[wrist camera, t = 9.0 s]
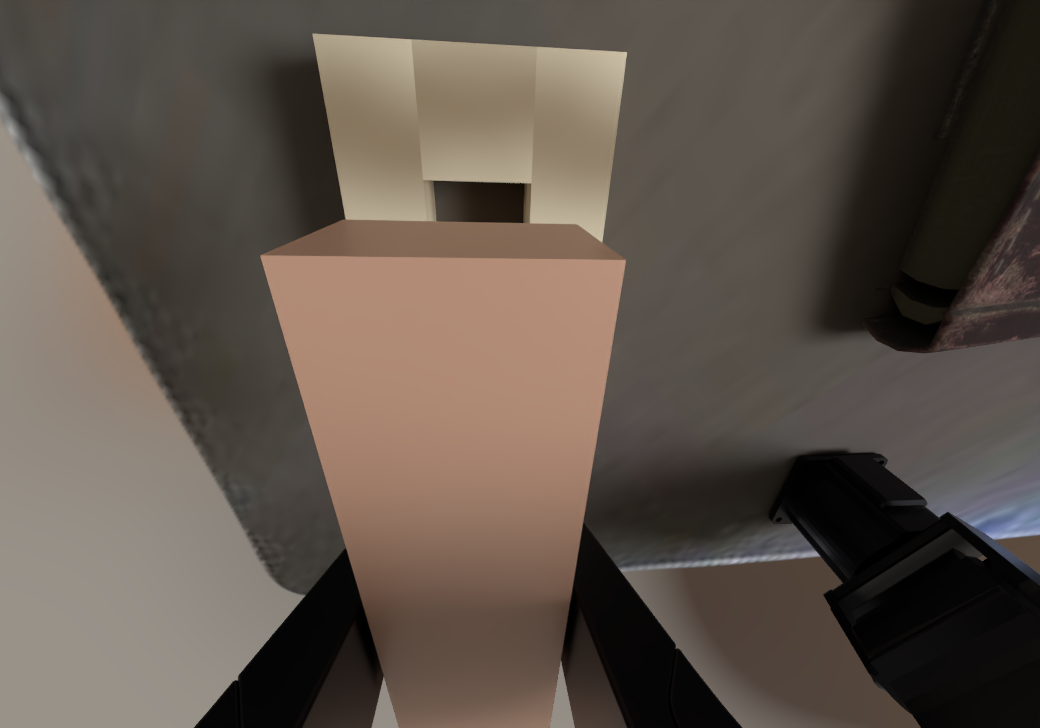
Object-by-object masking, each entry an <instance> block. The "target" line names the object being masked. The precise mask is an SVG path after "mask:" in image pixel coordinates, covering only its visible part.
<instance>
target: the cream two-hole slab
mask: <svg viewBox="0 0 1040 728" xmlns="http://www.w3.org/2000/svg"><path fill="white" fill-rule="evenodd" d="M313 39H314V45H315V51H316V56H317V62H318V67H319V73H320V79H321V84H322V90H323V95H324V101H325V107H326V112H327V118H328V123H329V129H330V134H331V140H332V146H333V151H334V157H335V162H336V168H337V174H338V179H339V185H340V190H341V196H342V201H343V207H344V213H345V218H346V220H392V221H436V208H435V194H434V180H435V181H468V182H502V183H524V212H523V223H538V224H577V225H579V226H580V227H582V228H583V229H584V230H586V231H587V232H588V233H590V234H591V235H592V236H594V237H595V238H597V239H598V240H599V241H601V242H602V240H603V232H604V225H605V217H606V210H607V202H608V194H609V187H610V179H611V171H612V164H613V156H614V148H615V141H616V133H617V125H618V118H619V110H620V102H621V95H622V87H623V79H624V72H625V64H626V56H627V52H614V51H597V50H580V49H563V48H546V47H529V46H512V45H495V44H479V43H462V42H445V41H428V40H411V39H394V38H377V37H360V36H344V35H327V34H313Z"/></svg>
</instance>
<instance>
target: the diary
mask: <svg viewBox="0 0 1040 728" xmlns="http://www.w3.org/2000/svg"><path fill="white" fill-rule="evenodd" d="M946 138H950V140H949V142H948V145H947V147H946V150H945V152H944V155H943V158H942V160H941V163H940V165H939V168H938V170H937V173H936V176H935V178H934V181H933V183H932V186H931V188H930V191H929V193H928V196H927V199H926V201H925V204H924V206H923V209H922V211H921V214H920V217H919V219H918V222H917V224H916V227H915V229H914V232H913V234H912V237H911V240H910V242H909V245H908V247H907V250H906V252H905V255H904V258H903V260H902V263H901V265H900V268H899V270H901V271H903V272H904V273H906V274H907V275H909V276H910V277H912V278H914V279H915V280H917V281H914V282H906V283H899V284H893V286H889V287H881V288H876V290H879V289H888V288H891V291H890V293H891V295H892V297H893V299H894V301H895V302H896V304H897V306H898V308H899V310H900V312H901V314H902V315H894V316H886V317H878V318H870V319H865V320H864V322H863V323H862V325H863V326H864V327H865V328H866V329H867V330H868V331H869V333H870V334H871V335H872V336H873V337H874V338H875V339H876V340H877V341H879V342H881V343H883V344H885V345H887V346H889V347H891V348H893V349H895V350H897V351H905V352H917V353H932V352H940V351H947V350H954V349H961V348H968V347H974V346H981V345H988V344H995V343H1001V342H1008V341H1015V340H1022V339H1028V338H1035V337H1040V0H982V2H981V5H980V8H979V10H978V13H977V16H976V19H975V21H974V24H973V27H972V30H971V32H970V35H969V38H968V41H967V43H966V46H965V49H964V52H963V54H962V57H961V60H960V63H959V65H958V68H957V71H956V74H955V76H954V79H953V82H952V85H951V87H950V90H949V93H948V96H947V98H946V101H945V104H944V107H943V109H942V112H941V115H940V118H939V120H938V123H937V126H936V129H935V131H934V134H933V137H932V139H946Z"/></svg>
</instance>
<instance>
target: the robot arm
mask: <svg viewBox="0 0 1040 728" xmlns="http://www.w3.org/2000/svg"><path fill="white" fill-rule="evenodd" d="M887 462H888V460H887V459H886V458H885V457H884V456H882V455H881V454H861V455H828V456H804V457H801V458H800V459H798V460H797V462H796V464H795V466H794V468H793V470H792V472H791V474H790V476H789V478H788V480H787V481H786V483H785V485H784V487H783V489H782V491H781V493H780V495H779V497H778V499H777V501H776V503H775V505H774V507H773V509H772V511H771V513H770V515H769V519H770V520H771V521H772V523H774V524H792V523H793V524H794V525H795V526H796V527H797V529H798V530H799V531H800V532H801V533H802V535H803V536H804V537H805V538H806V539H807V541H808V542H809V543H810V544H811V545H812V547H813V548H814V549H815V550H816V551H817V553H818V554H819V555H820V556H821V557H822V559H823V560H824V561H825V562H826V563H827V565H828V566H829V567H830V568H831V569H832V570H833V572H834V573H835V574H836V575H837V576H838V578H839V579H840V580H841V581H842V582H843V584H841V585H840V586H838V587H837V588H835V589H834V590H829V591H827V592H826V593H824V594H823V595H824V597H825V599H826V600H827V602H828V604H829V605H830V607H831V608H830V609H831V611H832V612H833V614H834V616H835V617H836V619H837V620H838V622H839V624H840V626H841V628H842V629H843V631H844V632H845V634H846V636H847V637H848V639H849V641H850V643H851V644H852V646H853V647H854V649H855V651H856V653H857V654H858V656H859V658H860V659H861V661H862V663H863V664H864V666H865V668H866V669H867V671H868V673H869V674H870V675H871V677H872V679H873V681H874V682H875V684H876V685H877V686H878V687H879V688H880V689H881V690H883V691H885V692H888V693H889V694H890V695H891V697H893V699H895V700H896V701H897V702H898V703H899V704H900V705H901V706H902V707H903V708H904V709H905V710H907V711H908V712H909V713H911V714H912V715H913V716H914V718H915V719H916V721H917V722H918V724H919V725H920V727H921V728H1040V574H1039V573H1037V572H1036V571H1035V570H1033V569H1032V568H1031V567H1030V566H1028V565H1027V564H1026V563H1024V562H1023V561H1022V560H1020V559H1019V558H1018V557H1016V556H1014V555H1013V554H1012V553H1011V552H1009V551H1008V550H1006V549H1005V548H1004V547H1002V546H1001V545H1000V544H998V543H997V542H996V541H994V540H993V539H992V538H990V537H989V536H987V535H986V534H984V533H983V532H981V531H979V530H978V529H976V528H974V527H973V526H971V525H969V524H968V523H966V522H964V521H963V520H961V519H959V518H958V517H956V516H954V515H953V514H951V513H949V512H947V513H945V514H944V515H942V516H941V517H937V516H936V515H935V514H934V513H932V512H931V511H930V510H929V509H927V508H926V507H925V506H926V505H927V501H926V500H925V499H924V498H923V497H922V496H921V495H919V494H918V493H917V492H915V491H914V490H913V489H912V488H910V487H909V486H908V485H906V484H905V483H904V482H903V481H901V480H900V479H899V478H898V477H896V476H895V475H894V474H892V473H891V472H890V471H889V470H887V469H886V468H885V465H886V464H887ZM982 555H984V556H985V557H986V558H987V559H985V560H984V561H981V560H979V559H978V558H979V557H980V556H982ZM675 649H676V645H675V643H674V641H673V640H672V639H671V637H670V636H669V635H668V633H667V632H666V631H665V630H664V628H663V627H662V626H661V624H660V623H659V622H658V620H657V619H656V618H655V616H654V615H653V614H652V612H651V611H650V610H649V608H648V607H647V606H646V604H645V603H644V602H643V600H642V599H641V598H640V597H639V595H638V594H637V592H636V591H635V590H634V588H633V587H632V586H631V585H630V583H629V582H628V581H627V579H626V578H625V577H624V575H623V574H622V573H621V571H620V570H619V569H618V567H617V566H616V565H615V563H614V562H613V561H612V559H611V558H610V557H609V555H608V554H607V553H606V551H605V550H604V549H603V547H602V546H601V545H600V543H599V542H598V541H597V539H596V538H595V537H594V536H593V534H592V533H591V532H590V530H589V529H588V528H587V526H586V525H585V524H584V522H583V526H582V533H581V539H580V545H579V551H578V557H577V563H576V569H575V575H574V582H573V588H572V594H571V600H570V606H569V612H568V618H567V624H566V631H565V637H564V643H563V649H562V655H561V661H562V667H563V672H564V677H565V681H566V686H567V691H568V696H569V700H570V706H571V711H572V716H573V720H574V725H575V728H742V727H741V726H740V724H739V723H738V722H737V721H736V720H735V719H734V718H733V716H732V715H731V714H730V713H729V712H728V710H727V709H726V708H725V707H724V706H723V705H722V703H721V702H720V701H719V700H718V698H717V697H716V696H715V694H714V693H713V692H712V691H711V689H710V688H709V687H708V686H707V684H706V683H705V682H704V681H703V679H702V678H701V677H700V676H699V674H698V673H697V672H696V670H695V669H694V668H693V666H692V665H691V664H690V662H689V661H688V660H687V658H686V657H685V656H684V654H683V653H682V652H681V650H679V649H676V650H675ZM383 677H384V675H383V671H382V668H381V665H380V661H379V658H378V654H377V651H376V648H375V644H374V641H373V637H372V634H371V631H370V627H369V624H368V620H367V617H366V614H365V610H364V607H363V603H362V600H361V597H360V593H359V590H358V586H357V583H356V580H355V576H354V573H353V569H352V566H351V563H350V559H349V556H348V552H347V549H346V548H345V549H344V550H343V552H342V553H341V554H340V555H339V556H338V558H337V559H336V560H335V561H334V562H333V564H332V565H331V566H330V567H329V568H328V569H327V571H326V572H325V573H324V574H323V575H322V577H321V578H320V579H319V580H318V581H317V583H316V584H315V585H314V586H313V587H312V589H311V590H310V591H309V592H308V593H307V594H306V596H305V597H304V598H303V599H302V600H301V602H300V603H299V604H298V605H297V606H296V608H295V609H294V610H293V611H292V612H291V614H290V615H289V616H288V617H287V618H286V619H285V621H284V622H283V623H282V624H281V626H280V627H279V628H278V629H277V630H276V631H275V633H274V634H273V635H272V636H271V637H270V639H269V640H268V641H267V642H266V643H265V644H264V646H263V647H262V648H261V649H260V651H259V652H258V653H257V654H256V655H255V656H254V658H253V659H252V660H251V661H250V662H249V664H248V665H247V666H246V667H245V668H244V670H243V671H242V672H241V673H240V674H239V676H238V681H237V680H235V681H233V682H232V683H231V685H230V686H229V687H228V688H227V689H226V691H225V692H224V693H223V694H222V695H221V697H220V698H219V699H218V700H217V702H216V703H215V704H214V705H213V706H212V707H211V709H210V710H209V711H208V712H207V713H206V714H205V715H204V717H203V718H202V719H201V720H200V721H199V722H198V724H197V725H196V726H195V727H194V728H371V727H372V723H373V718H374V715H375V710H376V706H377V702H378V698H379V694H380V689H381V685H382V681H383Z"/></svg>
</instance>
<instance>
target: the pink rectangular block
mask: <svg viewBox="0 0 1040 728" xmlns="http://www.w3.org/2000/svg"><path fill="white" fill-rule="evenodd" d="M260 257H261V260H262V263H263V267H264V270H265V274H266V277H267V280H268V284H269V287H270V291H271V294H272V297H273V301H274V304H275V308H276V311H277V314H278V318H279V321H280V325H281V328H282V331H283V335H284V338H285V342H286V345H287V348H288V352H289V355H290V359H291V362H292V365H293V369H294V372H295V376H296V379H297V382H298V386H299V389H300V393H301V396H302V399H303V403H304V406H305V410H306V413H307V416H308V420H309V423H310V427H311V430H312V433H313V437H314V440H315V444H316V447H317V450H318V454H319V457H320V461H321V464H322V467H323V471H324V474H325V478H326V481H327V484H328V488H329V491H330V495H331V498H332V501H333V505H334V508H335V512H336V515H337V518H338V522H339V525H340V529H341V532H342V535H343V539H344V542H345V546H346V549H347V552H348V556H349V559H350V563H351V566H352V569H353V573H354V576H355V580H356V583H357V586H358V590H359V593H360V597H361V600H362V603H363V607H364V610H365V614H366V617H367V620H368V624H369V627H370V631H371V634H372V637H373V641H374V644H375V648H376V651H377V654H378V658H379V661H380V665H381V668H382V671H383V675H384V678H385V681H386V685H387V688H388V692H389V695H390V699H391V702H392V705H393V709H394V712H395V715H396V719H397V722H398V726H399V728H550V722H551V716H552V710H553V704H554V697H555V692H556V686H557V679H558V673H559V667H560V661H561V655H562V649H563V643H564V637H565V631H566V624H567V618H568V612H569V606H570V600H571V594H572V588H573V582H574V575H575V569H576V563H577V557H578V551H579V545H580V539H581V533H582V526H583V520H584V514H585V508H586V502H587V496H588V490H589V484H590V477H591V471H592V465H593V459H594V453H595V447H596V441H597V435H598V428H599V422H600V416H601V410H602V404H603V398H604V392H605V386H606V379H607V373H608V367H609V361H610V355H611V349H612V343H613V337H614V330H615V324H616V318H617V312H618V306H619V300H620V294H621V288H622V281H623V275H624V269H625V263H626V260H625V259H624V258H623V257H621V256H620V255H618V254H617V253H616V252H614V251H613V250H612V249H610V248H609V247H608V246H606V245H605V244H603V243H602V242H601V241H599V240H598V239H597V238H595V237H594V236H592V235H591V234H590V233H588V232H587V231H586V230H584V229H583V228H582V227H580V226H579V225H577V224H538V223H489V222H440V221H392V220H341V221H339V222H336V223H334V224H332V225H329V226H327V227H325V228H322V229H320V230H318V231H315V232H313V233H311V234H309V235H306V236H304V237H302V238H299V239H297V240H295V241H292V242H290V243H288V244H285V245H283V246H281V247H278V248H276V249H274V250H271V251H269V252H267V253H265V254H262V255H260Z"/></svg>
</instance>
